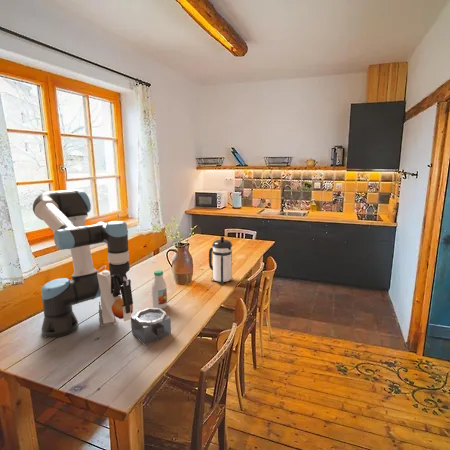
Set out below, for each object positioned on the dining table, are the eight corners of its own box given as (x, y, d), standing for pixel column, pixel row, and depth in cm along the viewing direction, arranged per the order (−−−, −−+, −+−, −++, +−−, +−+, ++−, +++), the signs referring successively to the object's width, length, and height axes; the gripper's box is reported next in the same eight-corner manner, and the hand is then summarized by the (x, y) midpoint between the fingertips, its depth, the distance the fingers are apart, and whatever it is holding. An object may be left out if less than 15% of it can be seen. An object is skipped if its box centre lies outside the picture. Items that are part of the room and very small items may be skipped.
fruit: (123, 304, 132) (127, 292, 128) (133, 319, 128) (138, 306, 124) (105, 312, 126) (109, 299, 122) (115, 327, 122) (120, 314, 118)
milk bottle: (153, 310, 165) (151, 274, 161) (152, 303, 173) (150, 269, 168) (167, 308, 167) (166, 273, 163) (166, 302, 175) (165, 268, 170)
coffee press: (234, 276, 213) (234, 233, 206) (232, 286, 197) (233, 239, 191) (209, 275, 214) (208, 233, 208) (205, 284, 199) (205, 239, 192)
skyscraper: (99, 317, 157) (95, 265, 150) (116, 314, 160) (113, 263, 152) (99, 326, 150) (94, 273, 142) (117, 323, 152) (113, 270, 145)
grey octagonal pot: (147, 347, 133) (146, 327, 131) (131, 332, 144) (130, 314, 143) (173, 336, 142) (173, 317, 140) (156, 322, 153) (156, 305, 151)
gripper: (140, 266, 115) (143, 322, 120) (117, 253, 131) (120, 303, 135) (120, 271, 110) (124, 329, 115) (99, 256, 126) (103, 309, 131)
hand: (122, 315), depth 125 cm, fingers closed on fruit, 8 cm apart
